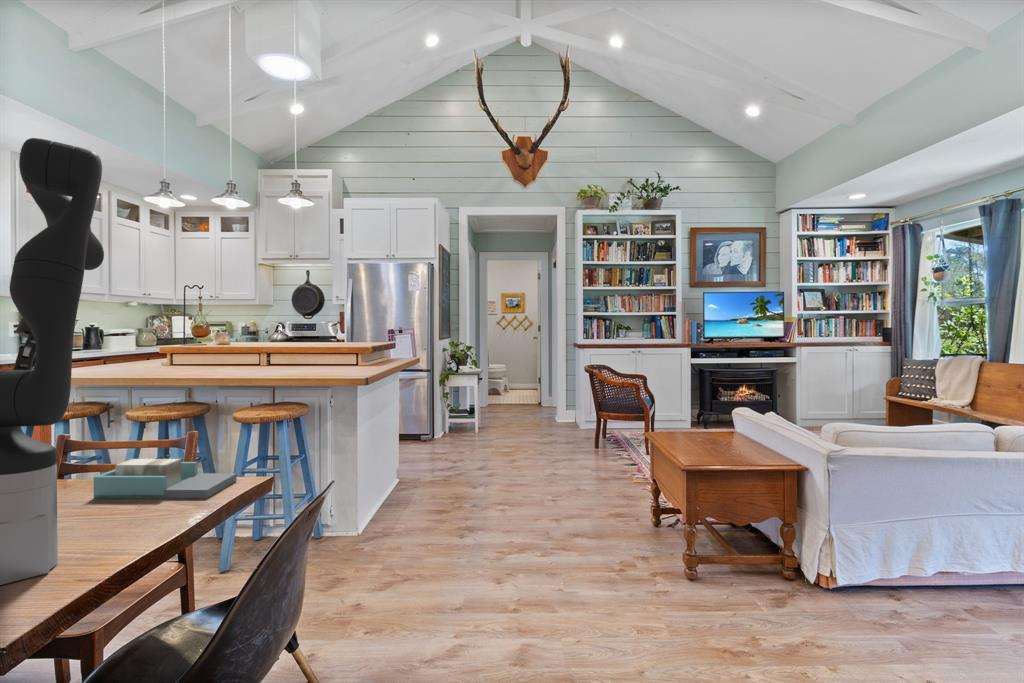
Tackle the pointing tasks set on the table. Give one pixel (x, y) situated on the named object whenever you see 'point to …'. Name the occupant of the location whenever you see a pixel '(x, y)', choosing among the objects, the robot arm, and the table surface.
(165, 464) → the block
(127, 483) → the box
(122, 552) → the table surface
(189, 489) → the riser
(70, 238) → the robot arm
